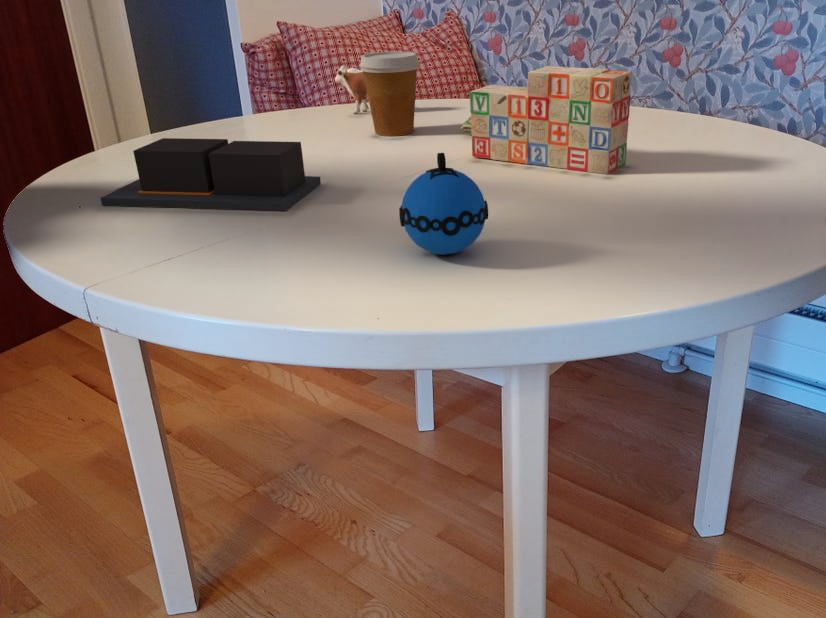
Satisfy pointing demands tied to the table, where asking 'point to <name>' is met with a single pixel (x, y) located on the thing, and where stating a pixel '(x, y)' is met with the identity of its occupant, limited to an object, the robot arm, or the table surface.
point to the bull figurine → (354, 85)
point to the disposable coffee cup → (391, 90)
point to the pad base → (207, 201)
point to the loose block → (177, 165)
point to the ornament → (443, 210)
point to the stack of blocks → (555, 119)
